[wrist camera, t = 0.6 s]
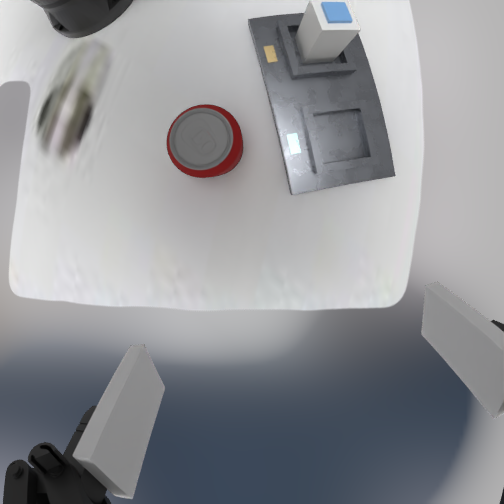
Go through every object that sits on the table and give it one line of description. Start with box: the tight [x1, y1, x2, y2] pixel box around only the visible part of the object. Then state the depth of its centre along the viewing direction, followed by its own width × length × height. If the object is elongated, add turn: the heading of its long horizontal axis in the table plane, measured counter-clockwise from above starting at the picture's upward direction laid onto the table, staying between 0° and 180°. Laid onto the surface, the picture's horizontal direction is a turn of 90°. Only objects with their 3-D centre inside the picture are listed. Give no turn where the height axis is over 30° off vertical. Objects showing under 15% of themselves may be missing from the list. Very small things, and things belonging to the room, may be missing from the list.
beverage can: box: [167, 105, 243, 178], centre depth 28 cm, size 7×7×12 cm
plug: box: [295, 0, 361, 64], centre depth 24 cm, size 4×4×11 cm
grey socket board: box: [248, 13, 395, 195], centre depth 30 cm, size 24×14×4 cm, turn 13°
